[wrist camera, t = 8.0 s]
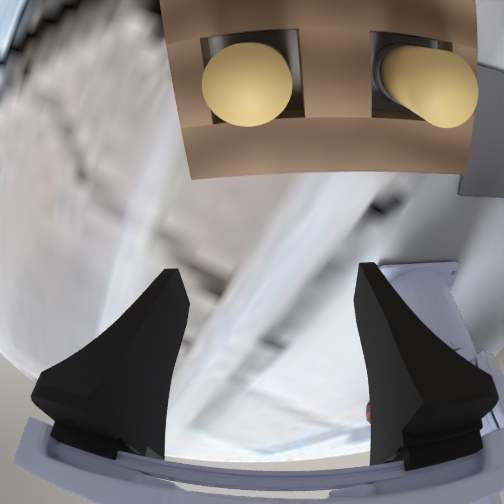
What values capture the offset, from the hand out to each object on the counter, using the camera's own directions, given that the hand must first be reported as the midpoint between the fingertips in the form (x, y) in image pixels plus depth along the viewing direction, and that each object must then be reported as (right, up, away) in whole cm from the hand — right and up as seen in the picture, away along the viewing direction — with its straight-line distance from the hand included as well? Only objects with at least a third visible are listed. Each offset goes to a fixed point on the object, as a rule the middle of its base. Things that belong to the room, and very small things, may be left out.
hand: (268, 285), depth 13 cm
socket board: (+4, +12, +3) cm, 13 cm away
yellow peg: (+8, +12, +3) cm, 15 cm away
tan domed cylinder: (0, +12, +4) cm, 13 cm away
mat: (+19, +10, +4) cm, 22 cm away
